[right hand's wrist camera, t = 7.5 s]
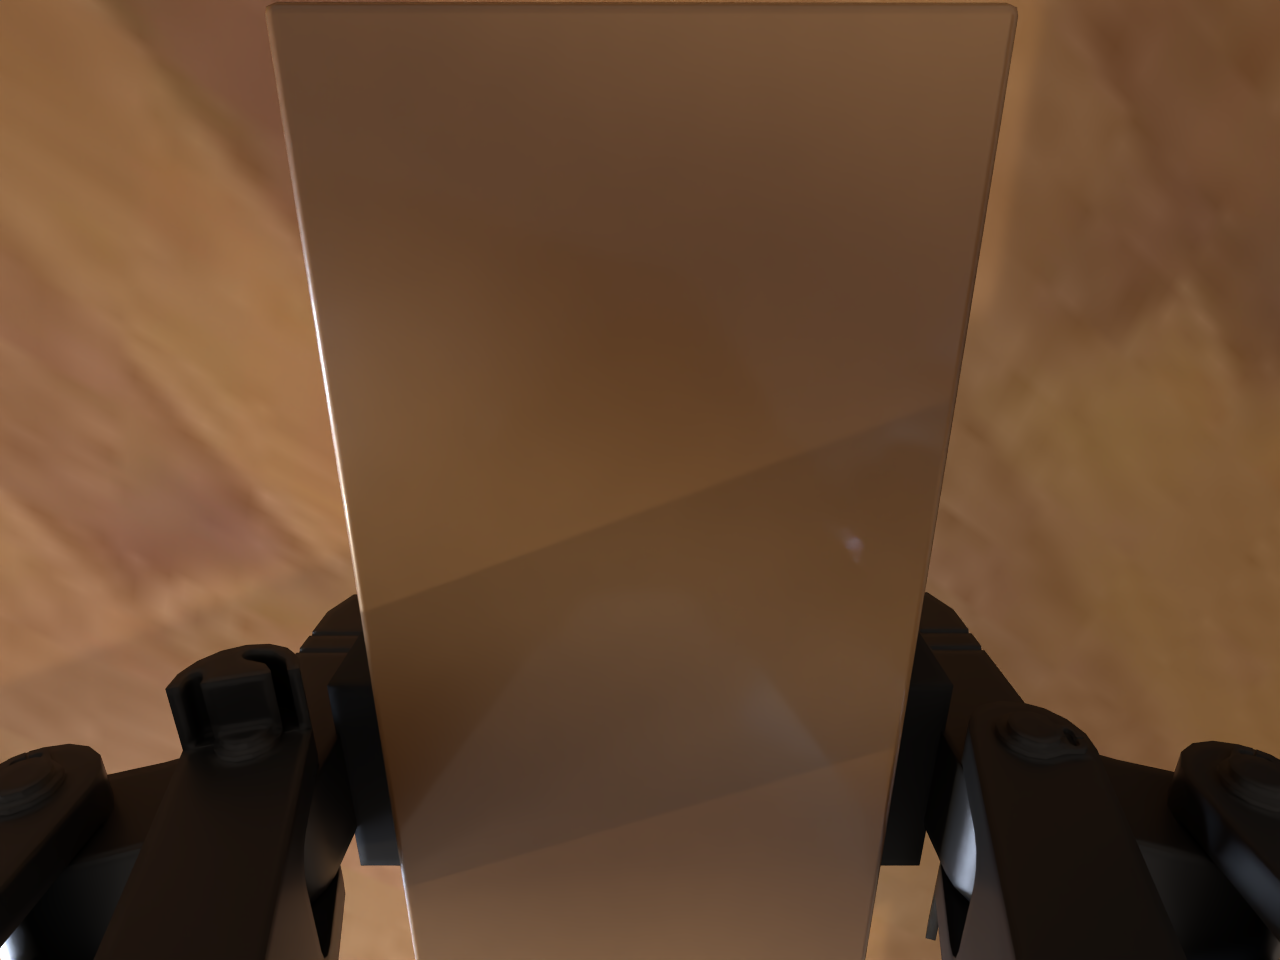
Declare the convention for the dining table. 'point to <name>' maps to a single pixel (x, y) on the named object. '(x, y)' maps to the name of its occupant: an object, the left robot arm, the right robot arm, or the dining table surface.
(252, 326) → the dining table surface
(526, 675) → the post
